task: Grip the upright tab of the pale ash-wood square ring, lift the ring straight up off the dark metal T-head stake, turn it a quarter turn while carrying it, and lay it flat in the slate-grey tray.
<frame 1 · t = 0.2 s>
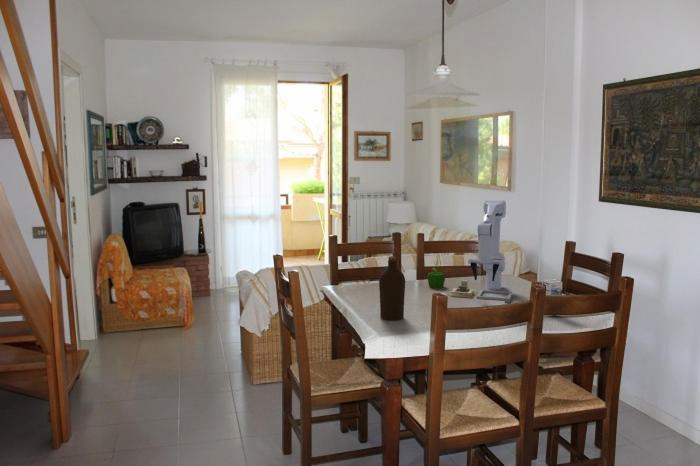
hand: (484, 280, 276), 10 cm above the table, tool pointing down, fingers open, 7 cm apart
olive oil: (392, 318, 252), on the table
syrup box: (551, 315, 255), on the table
ash ring: (462, 294, 288), point 1 cm above the table, touching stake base
slate tray: (494, 298, 285), on the table
bell pepper: (436, 289, 305), on the table
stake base: (462, 296, 289), on the table
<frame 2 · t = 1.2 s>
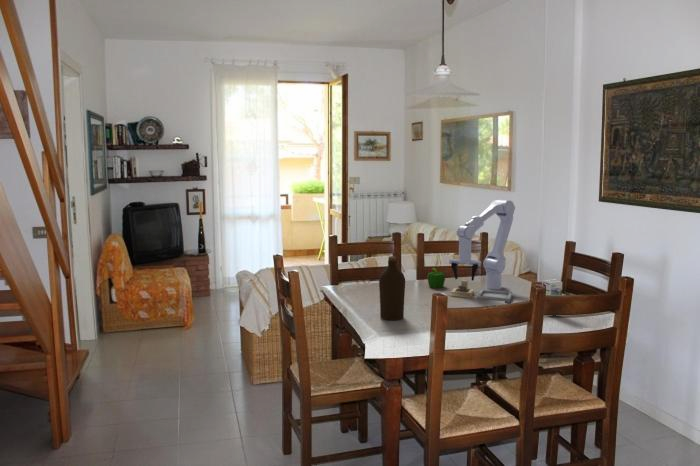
hand: (464, 279, 292), 7 cm above the table, tool pointing down, fingers open, 7 cm apart
nothing on the table moved.
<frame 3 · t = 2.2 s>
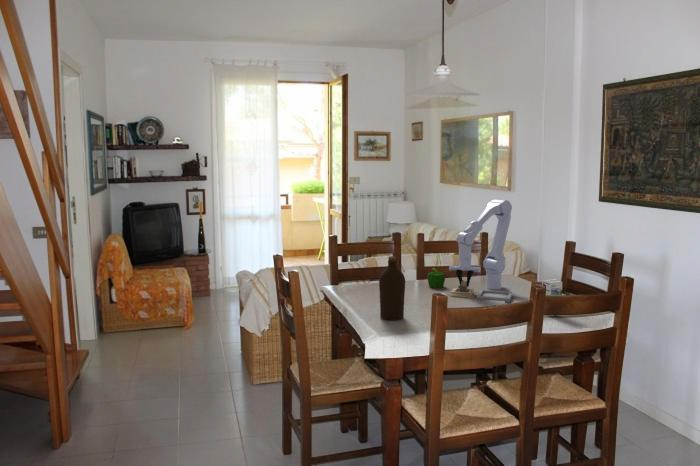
hand: (464, 286, 293), 4 cm above the table, tool pointing down, fingers closed on ash ring, 2 cm apart
ash ring: (462, 294, 288), point 1 cm above the table, touching gripper, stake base
everything else where it was.
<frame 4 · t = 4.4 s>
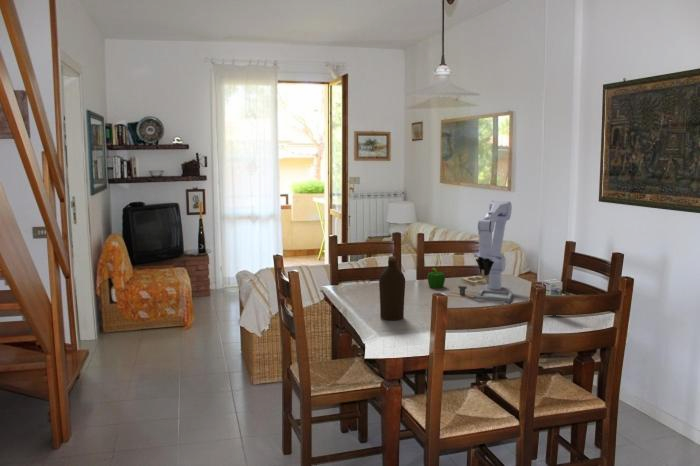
hand: (484, 274, 287), 10 cm above the table, tool pointing down, fingers closed on ash ring, 2 cm apart
ash ring: (475, 283, 285), point 7 cm above the table, touching gripper
everything else where it was.
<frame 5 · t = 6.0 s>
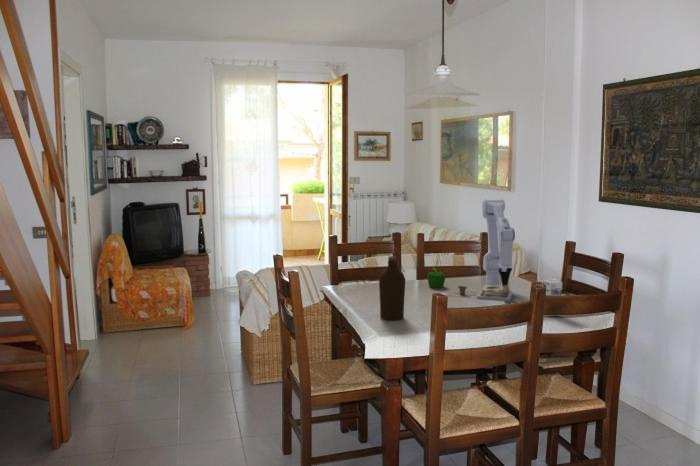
hand: (505, 284, 282), 7 cm above the table, tool pointing down, fingers closed on ash ring, 2 cm apart
ash ring: (493, 291, 285), point 3 cm above the table, tilted 5°, touching gripper
everything else where it was.
when the fingers open (5 cm above the table, at t = 6.7 s): ash ring stays where it is, resting on slate tray.
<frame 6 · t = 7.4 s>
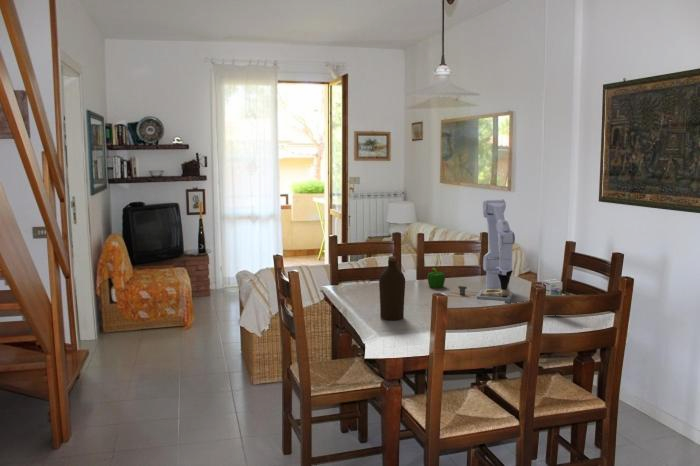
hand: (504, 287, 283), 5 cm above the table, tool pointing down, fingers open, 7 cm apart
ash ring: (493, 295, 285), point 1 cm above the table, tilted 6°, touching slate tray
everything else where it was.
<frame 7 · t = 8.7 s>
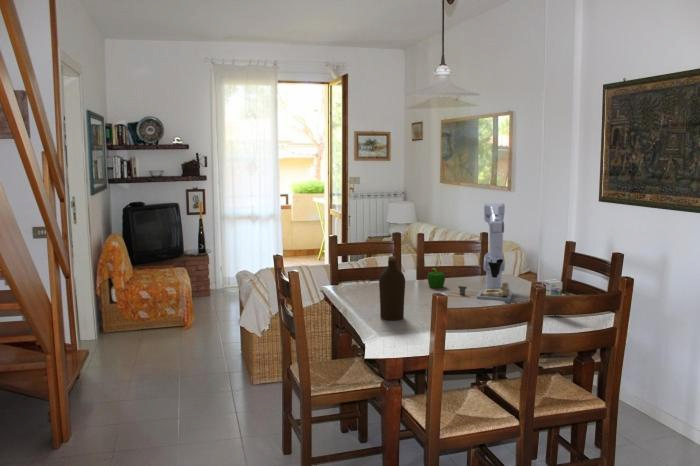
hand: (495, 275, 288), 9 cm above the table, tool pointing down, fingers open, 7 cm apart
nothing on the table moved.
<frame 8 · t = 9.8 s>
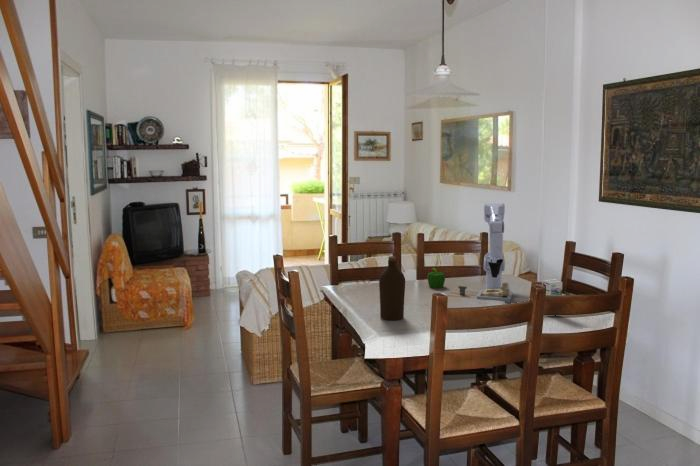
hand: (495, 275, 288), 9 cm above the table, tool pointing down, fingers open, 7 cm apart
nothing on the table moved.
at the end: ash ring 0.4 cm from the target spot on the slate tray, point 1.3 cm above the slate tray's base; ash ring tilted 6°; the gripper is holding nothing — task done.
